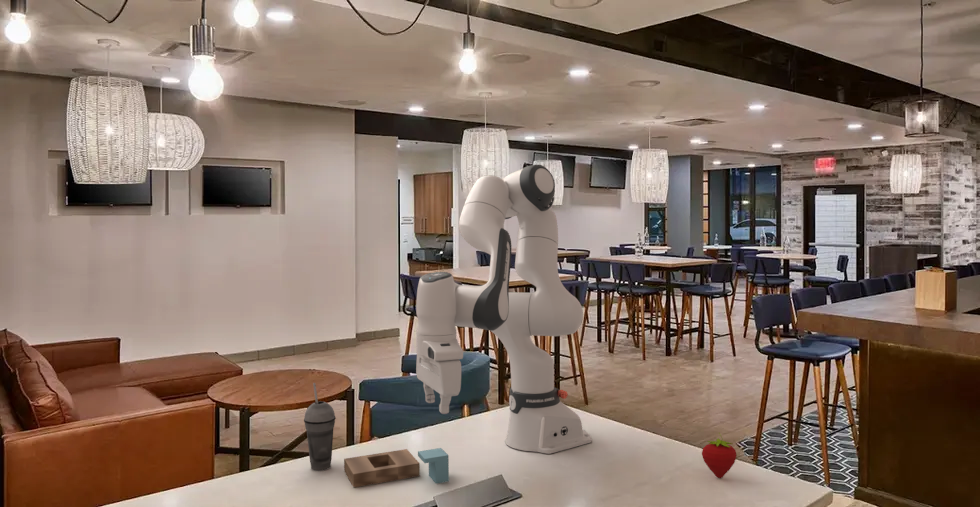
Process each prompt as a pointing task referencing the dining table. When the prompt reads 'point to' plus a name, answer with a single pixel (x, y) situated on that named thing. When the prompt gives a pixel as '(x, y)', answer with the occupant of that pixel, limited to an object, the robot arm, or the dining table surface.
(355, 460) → the well block
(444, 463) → the bracket
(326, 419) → the beverage cup
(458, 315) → the robot arm
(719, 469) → the strawberry
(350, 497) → the dining table surface
